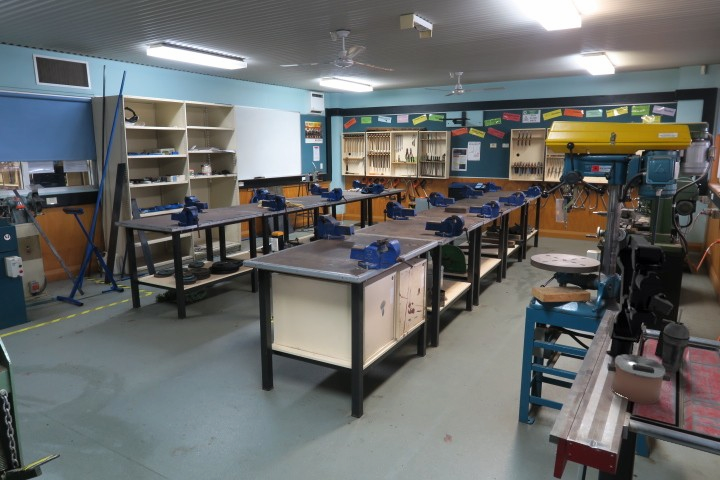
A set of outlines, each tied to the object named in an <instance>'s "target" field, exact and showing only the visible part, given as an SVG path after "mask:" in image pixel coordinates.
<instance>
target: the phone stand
mask: <svg viewBox="0 0 720 480" xmlns="http://www.w3.org/2000/svg"><path fill="white" fill-rule="evenodd" d="M673 322H677V321H676V320H672V319H667V318H663V319H662V321H661V324H660V331H659V333H658V334H659V335H658V339H657V344H656V347H655V351H654V355H655V356H658V357H661V358H662V353H663V341H664V339H663V331H664V328H665V327H666V326H667V325H668V324H670V323H673ZM680 323H681V324H683V325H685V323H684V322H682V321H680Z"/></svg>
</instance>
